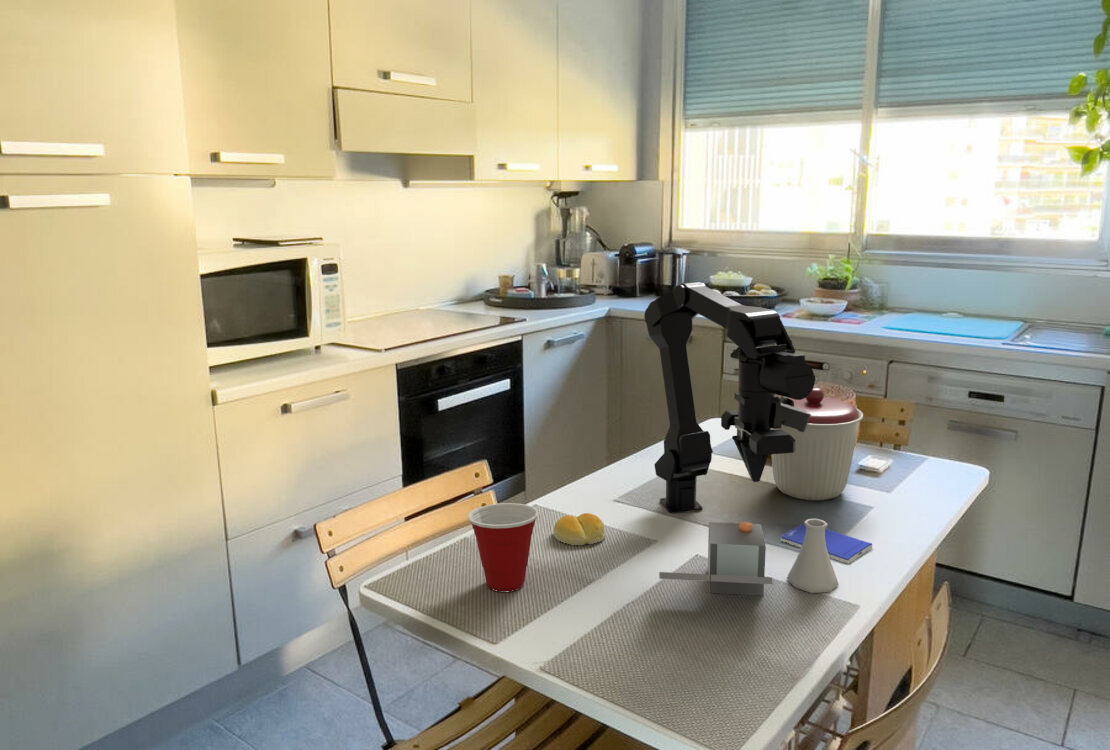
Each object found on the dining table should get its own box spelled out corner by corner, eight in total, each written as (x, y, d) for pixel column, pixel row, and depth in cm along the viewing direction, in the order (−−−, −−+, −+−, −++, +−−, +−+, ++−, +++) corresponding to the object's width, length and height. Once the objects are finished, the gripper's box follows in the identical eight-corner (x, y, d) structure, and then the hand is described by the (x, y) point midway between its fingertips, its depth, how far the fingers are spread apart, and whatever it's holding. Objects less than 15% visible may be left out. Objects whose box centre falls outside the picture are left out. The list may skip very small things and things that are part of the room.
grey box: (707, 568, 136) (709, 516, 133) (758, 571, 134) (761, 518, 132) (709, 594, 127) (710, 539, 125) (763, 597, 126) (766, 541, 124)
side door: (660, 572, 127) (659, 571, 119) (766, 577, 125) (772, 577, 117) (660, 578, 127) (659, 578, 119) (766, 584, 125) (772, 584, 117)
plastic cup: (534, 564, 138) (533, 495, 135) (545, 596, 128) (543, 522, 125) (468, 571, 136) (465, 501, 133) (473, 603, 126) (470, 528, 123)
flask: (811, 598, 126) (815, 536, 123) (778, 579, 132) (780, 519, 130) (847, 587, 129) (851, 526, 127) (812, 568, 135) (816, 509, 133)
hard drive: (780, 535, 145) (848, 557, 136) (805, 521, 150) (872, 542, 142) (780, 543, 145) (848, 566, 137) (805, 529, 151) (871, 550, 142)
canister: (743, 491, 168) (747, 388, 163) (794, 469, 180) (799, 372, 175) (826, 517, 155) (832, 405, 150) (875, 491, 167) (882, 387, 162)
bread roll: (550, 530, 152) (549, 509, 151) (599, 526, 153) (599, 505, 152) (558, 550, 144) (557, 528, 143) (609, 545, 145) (609, 523, 144)
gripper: (829, 397, 128) (826, 496, 131) (782, 374, 147) (781, 461, 150) (758, 402, 127) (757, 501, 130) (720, 378, 145) (720, 466, 148)
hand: (755, 481), depth 140 cm, fingers closed
